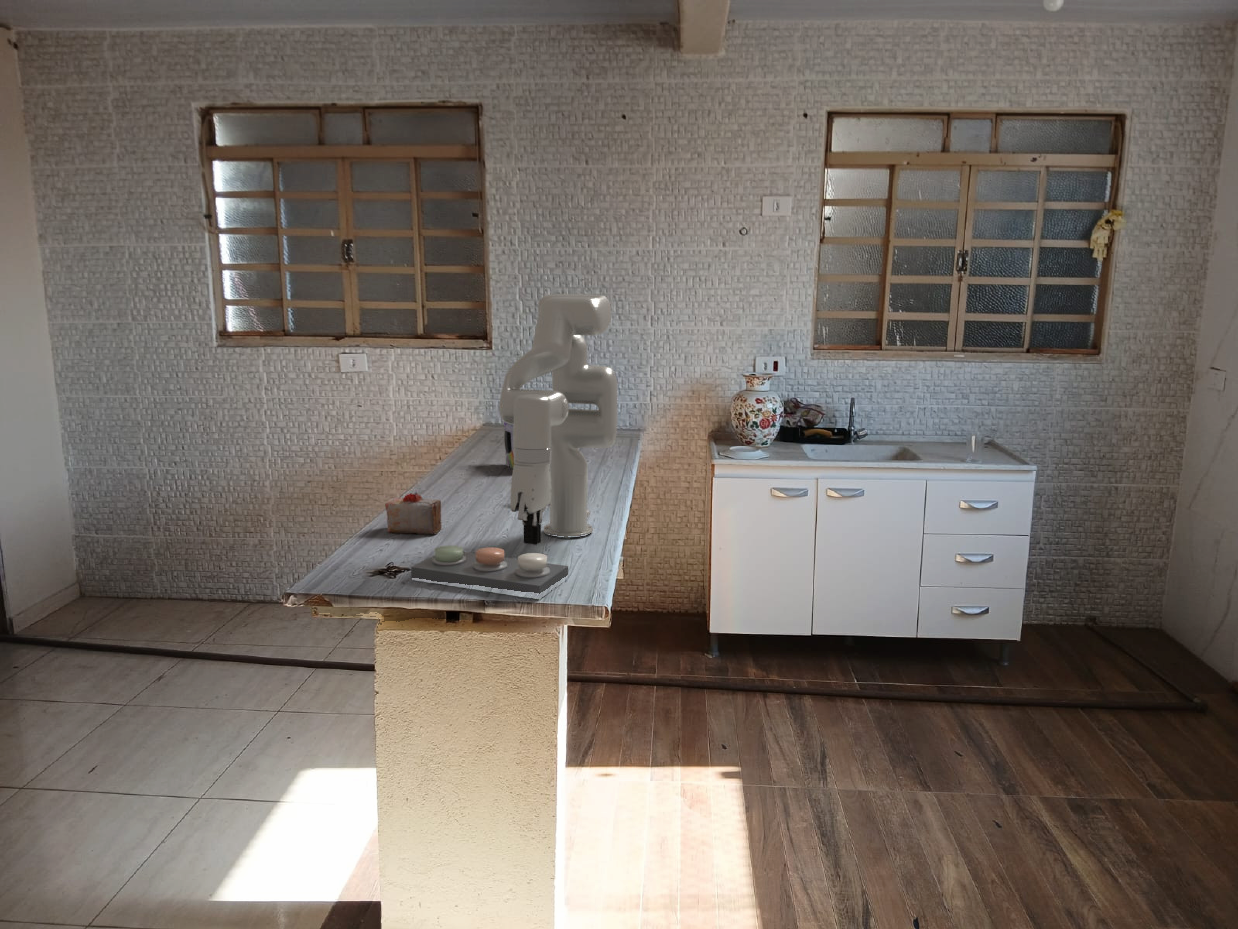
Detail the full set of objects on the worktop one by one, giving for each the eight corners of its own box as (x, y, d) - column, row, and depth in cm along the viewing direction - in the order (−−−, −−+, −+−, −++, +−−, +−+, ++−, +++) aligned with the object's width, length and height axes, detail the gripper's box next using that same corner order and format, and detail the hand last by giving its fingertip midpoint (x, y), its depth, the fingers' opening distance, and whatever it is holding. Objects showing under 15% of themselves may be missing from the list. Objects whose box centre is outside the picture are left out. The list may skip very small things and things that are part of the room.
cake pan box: (503, 464, 312) (502, 414, 308) (517, 463, 314) (516, 413, 310) (521, 475, 295) (521, 422, 291) (535, 474, 297) (535, 421, 293)
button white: (526, 559, 190) (526, 551, 190) (551, 563, 188) (551, 555, 188) (513, 567, 185) (513, 559, 184) (539, 571, 183) (539, 563, 182)
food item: (381, 534, 224) (380, 495, 222) (394, 525, 232) (392, 488, 230) (434, 537, 222) (433, 498, 220) (445, 528, 230) (444, 491, 228)
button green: (444, 552, 197) (444, 544, 197) (468, 555, 195) (468, 547, 195) (429, 559, 192) (429, 551, 191) (453, 563, 190) (453, 555, 189)
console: (446, 562, 202) (446, 547, 202) (568, 579, 192) (568, 563, 191) (411, 580, 190) (410, 564, 189) (539, 600, 179) (539, 583, 179)
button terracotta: (484, 554, 194) (484, 546, 193) (509, 557, 192) (509, 549, 191) (470, 562, 188) (470, 553, 188) (495, 565, 186) (495, 557, 186)
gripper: (532, 448, 190) (531, 532, 193) (498, 460, 176) (498, 550, 180) (564, 451, 187) (563, 536, 191) (532, 463, 174) (532, 554, 177)
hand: (532, 542), depth 185 cm, fingers closed
